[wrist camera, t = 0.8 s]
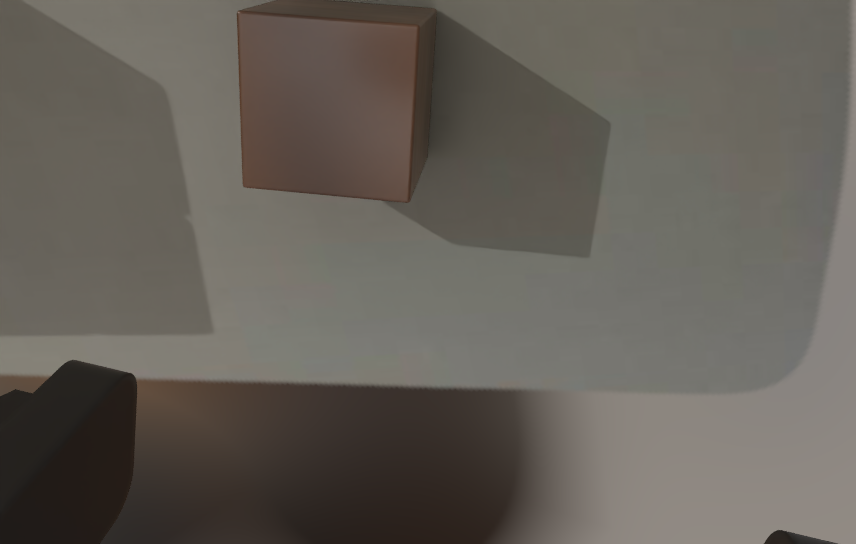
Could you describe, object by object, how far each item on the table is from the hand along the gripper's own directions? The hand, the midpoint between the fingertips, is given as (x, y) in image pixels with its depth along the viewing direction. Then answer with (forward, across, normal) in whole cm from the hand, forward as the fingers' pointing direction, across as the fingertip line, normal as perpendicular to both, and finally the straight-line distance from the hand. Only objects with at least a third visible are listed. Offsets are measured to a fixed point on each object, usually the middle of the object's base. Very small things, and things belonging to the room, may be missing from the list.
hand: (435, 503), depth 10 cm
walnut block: (+18, +5, -1) cm, 19 cm away
